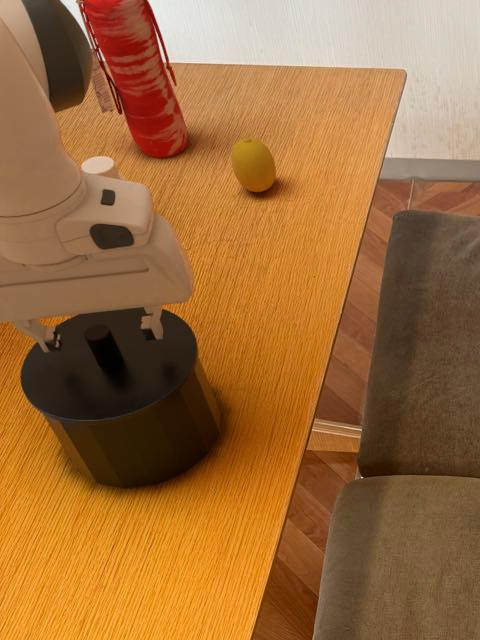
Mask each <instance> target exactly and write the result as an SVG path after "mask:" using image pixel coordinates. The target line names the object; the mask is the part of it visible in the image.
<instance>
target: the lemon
mask: <svg viewBox="0 0 480 640" xmlns="http://www.w3.org/2000/svg"><path fill="white" fill-rule="evenodd" d="M231 151H232V152H231V165H232V171H233V173H234V176H235V178H236V180H237V181H238V183H239V184H240V185H241V186H242V187H243V188H245V189H246V190H247V191H250V192H254V193H262V192H265V191H267V190H269V189H270V188H271V187H272V186H273V184H274V182H275V180H276V175H277V168H276V163H275V160H274V157H273V155H272V153H271V151H270V149H269V147H268V146H267V145H266V144H265V143H264V142H262V141H261V140H260V139H258V138H254V137H249V136H246V137H244V138H243V139H240V140H239V141H238V142H236V144H235V145H234V146H233V149H232V150H231Z"/></svg>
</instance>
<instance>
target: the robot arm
mask: <svg viewBox="0 0 480 640" xmlns="http://www.w3.org/2000/svg"><path fill="white" fill-rule="evenodd" d="M91 49H92V46H91V43H90V41H89V38H88V36H87V34H86V33H85V32H84V30H83V28H82V26H81V25H80V23H79V22H78V20H77V19H76V17H75V16H74V15H73V14H72V12H71V10H70V9H69V8H67V6H66V5H65V4H64V2H62V0H0V324H5V323H12V324H13V326H14V328H15V330H17V331H19V332H21V333H22V334H24V335H26V336H27V337H29V338H31V339H32V340H34V341H36V342H37V341H38V343H39V345H40V346H41V348H42V350H43V351H44V352H54V351H61V350H62V347H61V346H62V344H63V341H62V337H61V335H59V334H58V330H57V328H56V327H55V326H56V325H55V326H47V325H45V324H44V323H42V322H41V321H39V320H41V319H49V318H59V317H66V316H76V315H78V314H86V313H95V312H104V311H113V310H122V309H131V308H140V307H144V309H145V311H146V313H147V314H150V316H143V317H142V324H141V331H142V333H143V334H144V335H145V339H146V341H148V340H159V339H163V327H162V325H161V322H160V317H161V314H162V309H163V306H167V305H176V304H184V303H188V302H189V301H190V299H191V297H192V295H193V293H194V289H195V272H194V268H193V265H192V263H191V261H190V258H189V256H188V254H187V252H186V249H185V247H184V245H183V243H182V241H181V240H180V237H179V236H178V234H177V232H176V230H175V229H174V228H173V226H172V224H171V223H170V222H169V221H168V220H167V219H166V218H165V217H164V216H162V215H161V214H159V213H158V212H155V209H154V208H155V207H154V206H155V205H154V199H153V194H152V192H151V190H150V189H149V186H147V185H146V184H144V183H141V182H137V181H131V180H127V179H126V180H127V181H126V180H120V179H114V178H109V177H104V176H99V175H95V174H91V173H87V172H84V171H82V169H81V167H80V166H79V165H78V163H77V161H76V160H75V158H73V156H72V155H71V153H69V152H68V150H67V147H66V146H65V145H64V141H63V138H62V133H61V125H60V122H59V119H58V116H57V114H58V113H60V112H64V111H66V110H69V109H71V108H75V107H78V106H80V105H81V104H82V103H83V102H84V100H85V98H86V97H87V96H86V95H87V93H88V90H89V87H90V84H91V74H92V64H93V55H92V50H91Z"/></svg>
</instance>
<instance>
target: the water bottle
mask: <svg viewBox="0 0 480 640" xmlns="http://www.w3.org/2000/svg"><path fill="white" fill-rule="evenodd" d="M75 3H76V4H77V6H78V11H79V12H80V16H81V19H82V22H83V26H84V29H85V31H86V36H87V38H88V41H89V44H90V47H91V50H92V55H93V64H92V74H91V79H90V83H91V85H92V88H93V90H94V93H95V96H96V99H97V101H98V102H97V103H98V105H99V107H100V110H101V113H102V114H105V113H107V112H110V113H112V112H113V111H115V108H116V112H117V114H118V115H120V116H122V115H123V114H124V117H125V121H126V123H127V128H128V129H129V131H130V134H131V136H132V140H133V142H134V144H136V146H137V147H138V148H139V149H140V151H141V152H142V153H144V154H145V155H147V156H148V157H150V158H157V159H165V158H170V157H174V156H176V155H177V154H181V153H182V152H183V151H184V150H185V148H186V147H187V146H188V129H187V125H186V122H185V117H184V115H183V111H182V108H181V106H180V103H179V101H178V98H177V95H176V92H175V91H174V88H173V86H174V87H178V84H177V80H176V75H175V72H174V69H173V66H171V65H170V64H171V63H170V59H169V55H168V52H167V48H166V45H165V42H164V38H163V35H162V32H161V30H160V26H159V24H158V21H157V18H156V16H155V13H154V10H153V7H152V6H151V4H150V2H149V0H75ZM159 43H160V44H159ZM160 46H161V48H162V52H163V55H164V60H165V63H164V60H163V57H162V52H161V48H160ZM104 60H105V63H106V65H107V67H108V69H109V71H110V74H111V76H110V74H109V72H108V71H107V67H106V65H105V63H104ZM165 64H166V65H165ZM167 71H168V72H169V75H170V78H171V80H172V82H173V85H172V83H171V81H170V78H169V76H168V73H167ZM104 76H105V77H104ZM105 78H106V79H105ZM106 81H107V82H106ZM107 84H108V85H107ZM108 87H109V88H108ZM109 90H110V91H109ZM110 93H111V94H110ZM112 99H113V100H112ZM113 102H114V103H113Z"/></svg>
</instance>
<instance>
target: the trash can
mask: <svg viewBox="0 0 480 640" xmlns="http://www.w3.org/2000/svg"><path fill="white" fill-rule="evenodd" d="M42 415H43V417H44V418H45V420H46V422H47V424H48V425H49V427H50V428H51V430H52V432H53V433H54V435H55V436H56V438H57V440H58V441H59V442H60V444H61V446H62V447H63V449H64V451H65V452H66V454H67V456H68V458H69V459H70V460H71V462H72V463H73V465H74V466H75V468H76V470H77V471H78V472H80V473H81V474H82V475H84V476H85V477H87V478H89V479H90V480H92V481H93V482H94V483H96V484H98V485H103V486H108V487H115V488H119V489H134V488H141V487H150V486H158V485H160V484H162V483H164V482H166V481H169V480H172V479H173V478H176V477H178V476H180V475H183V474H185V473H187V472H188V471H189V470H190V469H192V468H193V467H194V466H195V465H197V464H198V463H199V462H200V461H202V460H203V459H204V458H205V457H207V455H208V454H209V453H210V451H211V450H212V448H213V446H214V444H215V443H216V440H217V439H218V437H219V436H220V433H221V410H220V408H219V405H218V403H217V400H216V398H215V396H214V392H213V390H212V387H211V385H210V382H209V380H208V377H207V375H206V372H205V370H204V367H203V364H202V362H201V359H200V357H199V356H198V360H197V364H196V367H195V369H194V371H193V373H192V375H191V377H190V378H189V380H188V381H187V382H186V384H185V385H184V386H183V387H182V388H181V389H180V390H179V391H178V392H177V393H176V394H175V395H173V396H172V397H171V398H170V399H168V400H167V401H166V402H164V403H163V404H161V405H159V406H158V407H156V408H154V409H152V410H150V411H148V412H146V413H144V414H141V415H139V416H136V417H133V418H130V419H127V420H123V421H119V422H115V423H108V424H100V425H77V424H69V423H65V422H61V421H57V420H55V419H52V418H50V417H48V416H46V415H44V414H42Z"/></svg>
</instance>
